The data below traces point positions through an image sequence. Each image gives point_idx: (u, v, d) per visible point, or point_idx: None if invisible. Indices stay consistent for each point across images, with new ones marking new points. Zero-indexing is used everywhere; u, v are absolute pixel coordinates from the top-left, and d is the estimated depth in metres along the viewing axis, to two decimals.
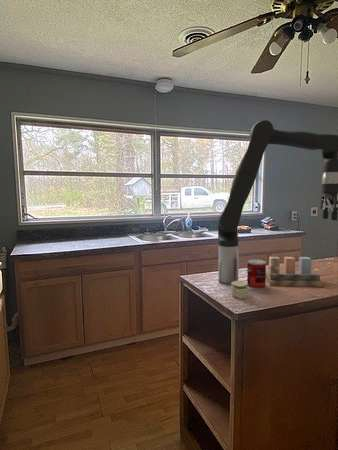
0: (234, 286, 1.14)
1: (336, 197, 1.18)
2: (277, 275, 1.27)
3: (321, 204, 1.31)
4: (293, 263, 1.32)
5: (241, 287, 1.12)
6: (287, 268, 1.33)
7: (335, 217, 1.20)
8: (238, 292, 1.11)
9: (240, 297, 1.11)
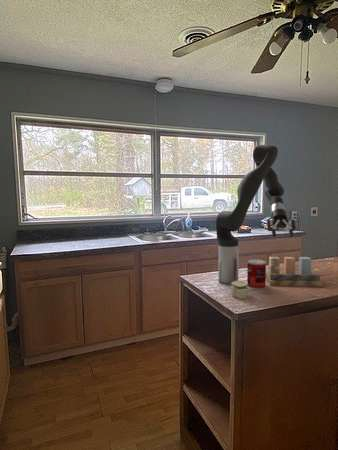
0: (234, 286, 1.14)
1: None
2: (277, 275, 1.27)
3: (269, 225, 1.50)
4: (293, 263, 1.32)
5: (241, 287, 1.12)
6: (287, 268, 1.33)
7: None
8: (238, 292, 1.11)
9: (240, 297, 1.11)
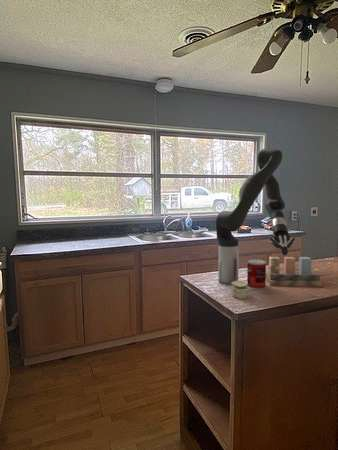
0: (234, 286, 1.14)
1: (294, 240, 1.46)
2: (277, 275, 1.27)
3: (276, 242, 1.46)
4: (293, 263, 1.32)
5: (241, 287, 1.12)
6: (287, 268, 1.33)
7: None
8: (238, 292, 1.11)
9: (240, 297, 1.11)
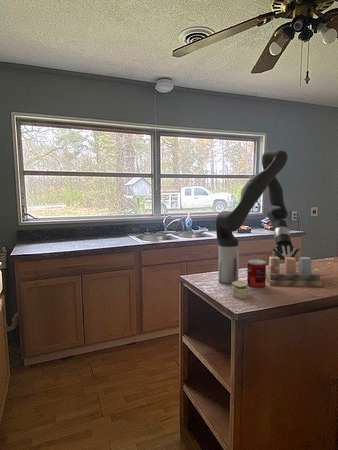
0: (235, 286, 1.14)
1: (298, 250, 1.40)
2: (277, 275, 1.27)
3: (279, 253, 1.39)
4: (294, 264, 1.31)
5: (242, 287, 1.12)
6: (288, 269, 1.31)
7: None
8: (238, 292, 1.11)
9: (240, 297, 1.11)
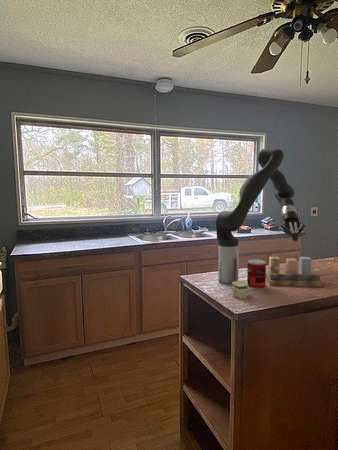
0: (235, 286, 1.14)
1: (304, 226, 1.48)
2: (277, 275, 1.27)
3: (287, 229, 1.48)
4: (295, 265, 1.28)
5: (242, 287, 1.12)
6: (289, 270, 1.29)
7: None
8: (239, 292, 1.11)
9: (241, 297, 1.11)
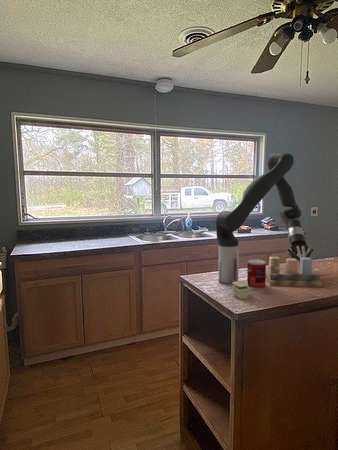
0: (235, 286, 1.14)
1: None
2: (277, 275, 1.27)
3: (294, 253, 1.38)
4: (295, 265, 1.28)
5: (242, 287, 1.12)
6: (289, 270, 1.29)
7: None
8: (239, 292, 1.11)
9: (241, 297, 1.10)
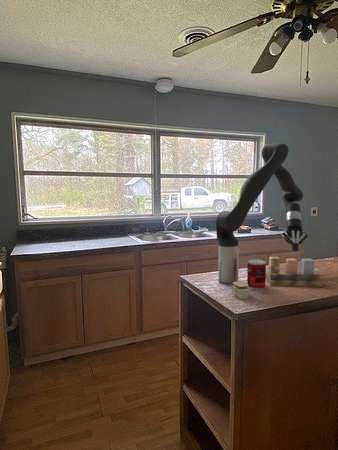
0: (236, 286, 1.14)
1: (307, 236, 1.43)
2: (277, 275, 1.27)
3: (288, 237, 1.43)
4: (295, 265, 1.28)
5: (243, 287, 1.12)
6: (289, 270, 1.29)
7: None
8: (239, 292, 1.11)
9: (241, 297, 1.10)
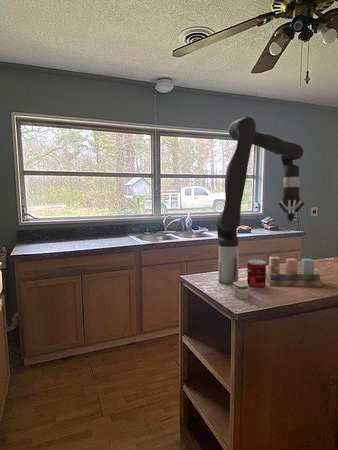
0: (236, 286, 1.14)
1: None
2: (277, 275, 1.27)
3: (284, 208, 1.41)
4: (295, 265, 1.28)
5: (243, 287, 1.12)
6: (289, 270, 1.29)
7: None
8: (239, 292, 1.11)
9: (241, 297, 1.10)
